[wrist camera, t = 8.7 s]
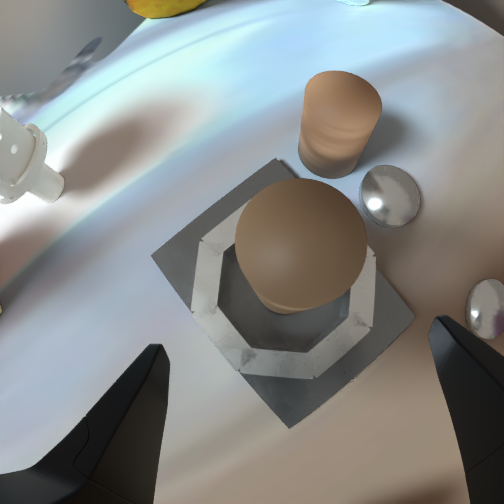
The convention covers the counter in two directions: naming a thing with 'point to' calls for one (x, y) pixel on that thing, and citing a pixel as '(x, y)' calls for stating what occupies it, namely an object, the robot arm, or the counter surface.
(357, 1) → the beer glass
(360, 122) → the cherry stub
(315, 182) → the walnut peg
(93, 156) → the counter surface
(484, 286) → the disc
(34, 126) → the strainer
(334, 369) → the octagonal socket plate
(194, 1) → the bucket of meat
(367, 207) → the disc
